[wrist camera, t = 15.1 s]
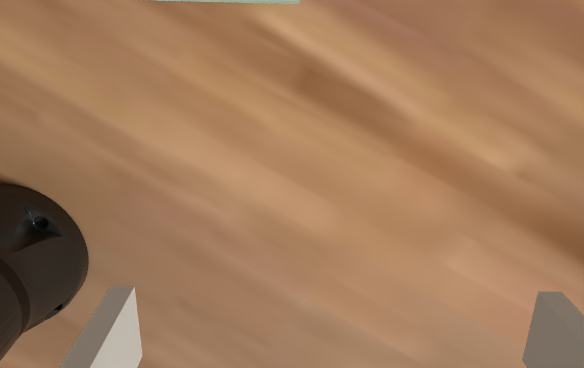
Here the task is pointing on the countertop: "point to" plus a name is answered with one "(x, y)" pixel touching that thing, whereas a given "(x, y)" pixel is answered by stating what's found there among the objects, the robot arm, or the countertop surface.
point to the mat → (246, 1)
